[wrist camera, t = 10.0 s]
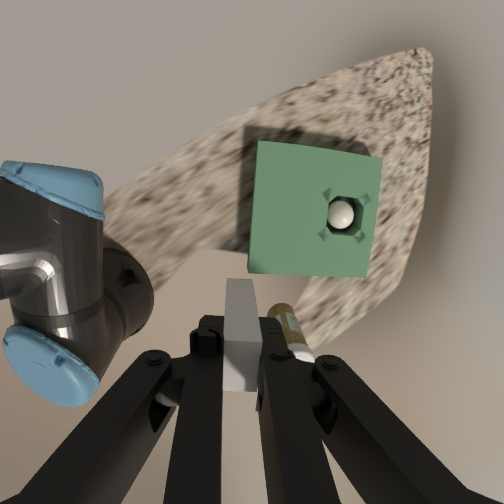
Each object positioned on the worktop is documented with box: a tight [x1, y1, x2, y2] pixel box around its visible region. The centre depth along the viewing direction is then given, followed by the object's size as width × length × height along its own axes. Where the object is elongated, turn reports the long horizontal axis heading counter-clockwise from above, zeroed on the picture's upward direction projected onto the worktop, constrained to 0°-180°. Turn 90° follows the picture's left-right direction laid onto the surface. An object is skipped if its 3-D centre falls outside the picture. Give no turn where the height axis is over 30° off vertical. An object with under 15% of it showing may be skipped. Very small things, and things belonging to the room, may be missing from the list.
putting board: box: [247, 140, 382, 278], centre depth 39 cm, size 18×18×3 cm
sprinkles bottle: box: [267, 303, 314, 363], centre depth 38 cm, size 5×5×14 cm
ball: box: [327, 201, 354, 229], centre depth 38 cm, size 4×4×4 cm
